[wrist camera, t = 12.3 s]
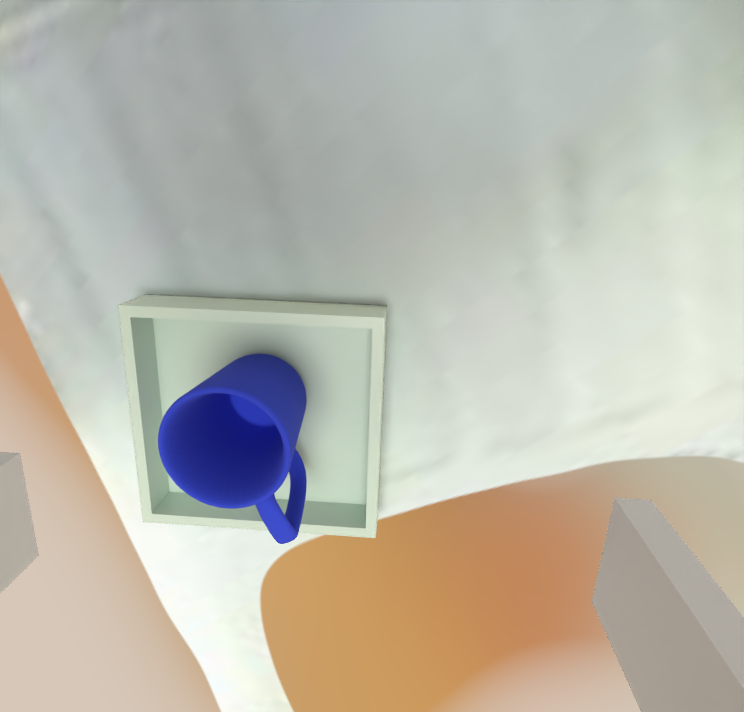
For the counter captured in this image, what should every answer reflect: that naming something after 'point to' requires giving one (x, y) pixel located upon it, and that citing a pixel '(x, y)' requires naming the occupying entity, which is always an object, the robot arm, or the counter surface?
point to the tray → (319, 375)
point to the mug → (241, 440)
